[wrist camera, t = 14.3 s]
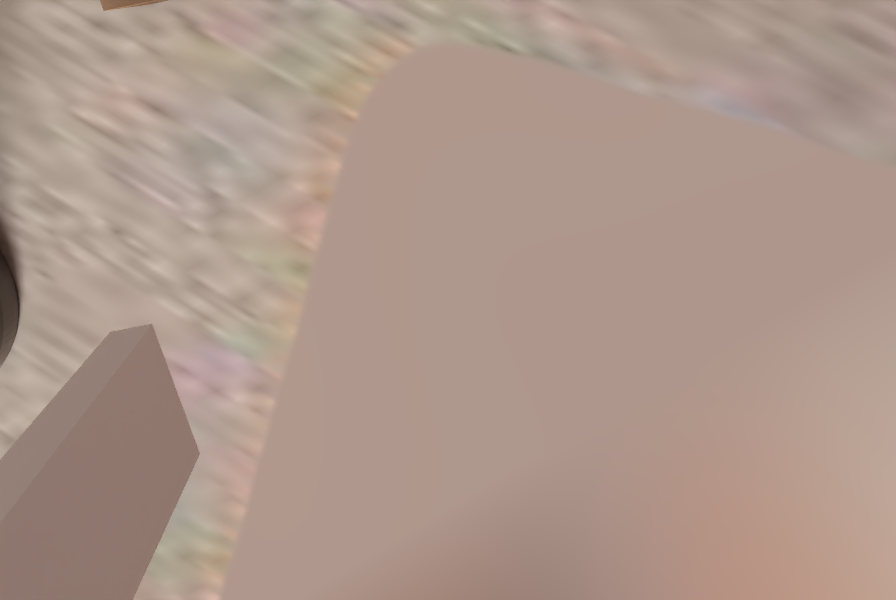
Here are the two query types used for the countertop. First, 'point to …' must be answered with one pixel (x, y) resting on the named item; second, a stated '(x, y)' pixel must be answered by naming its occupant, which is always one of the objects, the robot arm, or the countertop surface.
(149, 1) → the rack
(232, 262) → the countertop surface
